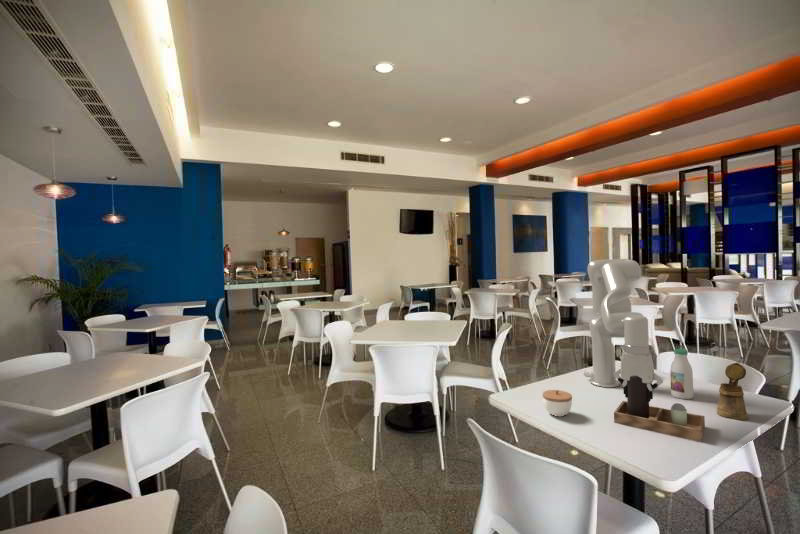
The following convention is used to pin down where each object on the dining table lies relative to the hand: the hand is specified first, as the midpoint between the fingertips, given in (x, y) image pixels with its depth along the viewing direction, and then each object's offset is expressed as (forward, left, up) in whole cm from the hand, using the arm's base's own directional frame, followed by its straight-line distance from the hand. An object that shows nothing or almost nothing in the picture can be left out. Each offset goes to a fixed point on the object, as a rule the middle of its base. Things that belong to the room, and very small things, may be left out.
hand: (638, 398), depth 141 cm
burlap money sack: (+26, +28, -9) cm, 40 cm away
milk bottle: (+9, +39, -9) cm, 41 cm away
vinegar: (0, 0, -7) cm, 7 cm away
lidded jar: (-26, -9, -9) cm, 29 cm away
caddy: (+6, 0, -9) cm, 11 cm away
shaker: (+12, 0, -8) cm, 15 cm away
